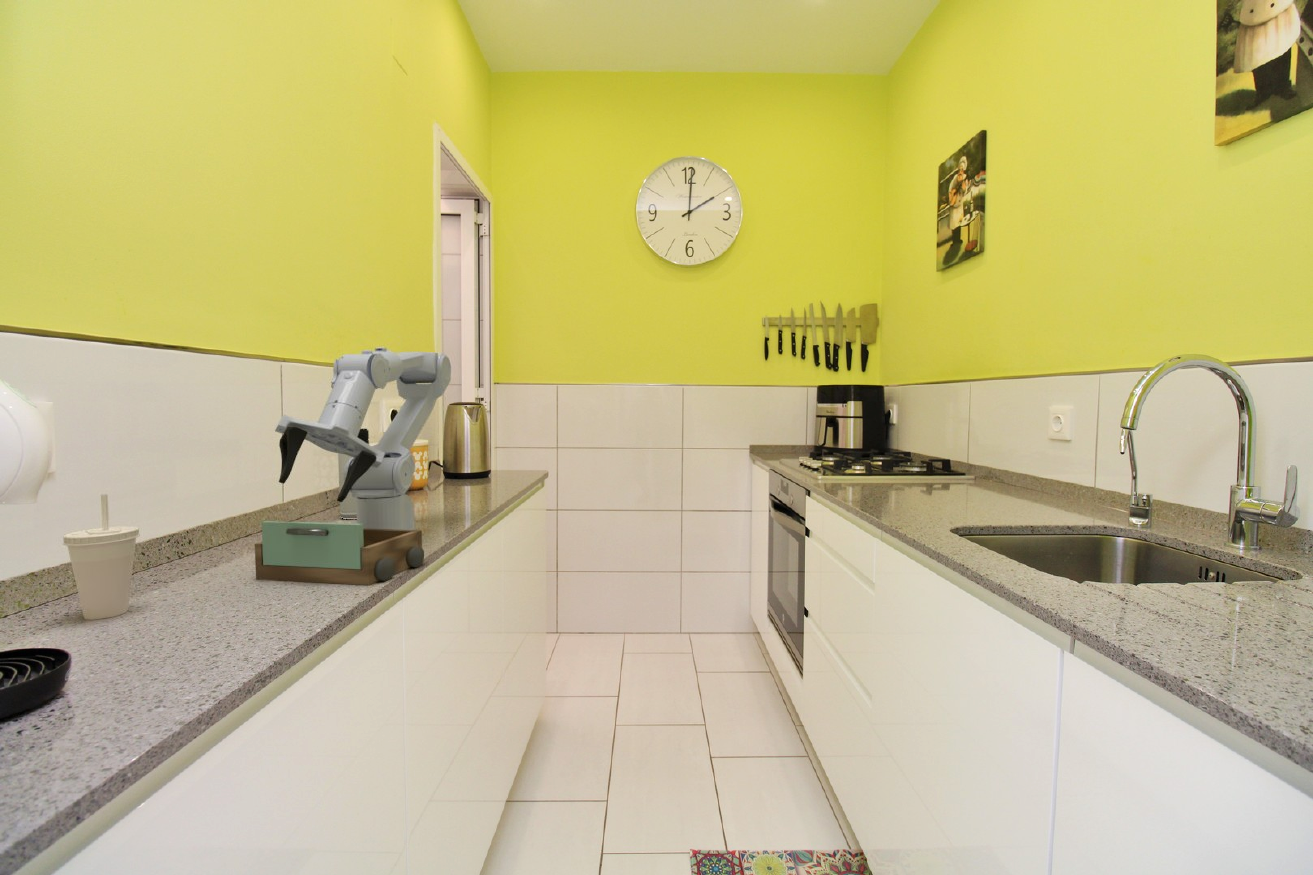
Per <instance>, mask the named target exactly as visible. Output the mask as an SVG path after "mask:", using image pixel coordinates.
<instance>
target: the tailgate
mask: <svg viewBox="0 0 1313 875" xmlns="http://www.w3.org/2000/svg"><path fill="white" fill-rule="evenodd" d="M261 540H262V541H261V542H262V544H263V565H279V566H300V567H321V568H342V569H362V548H363V547H364V540H363V524H357V523H346V522H345V523H342V522H313V521H312V522H311V521H307V522H306V521H276V520H273V521H272V520H265V521H262V522H261Z"/></svg>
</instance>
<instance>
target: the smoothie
mask: <svg viewBox="0 0 1313 875" xmlns="http://www.w3.org/2000/svg"><path fill="white" fill-rule="evenodd" d="M100 502H101V505H100V507H101V523H102V527H99V528H92V529H91V528H90V529H85V530H84V529H83V530H79V531H73V532H69V533H67V534H64V535H63V543H62V545H64V546H67V550H68V555H69V558H70V560H69V561H70V563H71V567H72V571H73V577H74V580H75V584H76V588H77V593H78V598H79V602H80V607H81V611H82V615H83V618H84V620H92V621H93V620H102V619H108V618H113V617H117V616H120V615H123V614H125V613H127V612H128V611H129V604H130V594H131V587H132V586H131V585H132V577H133V569H134V560H135V559H134V558H135V552H136V541H137V538H138V537H140V532H139V530H140V528H139V527H137V526H130V525H129V526H127V525H125V526H123V525H121V526H110V521H109V520H110V519H109V518H110V517H109V516H110V514H109V497H108V493H102V494H100Z"/></svg>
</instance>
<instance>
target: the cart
mask: <svg viewBox="0 0 1313 875" xmlns="http://www.w3.org/2000/svg"><path fill="white" fill-rule="evenodd" d="M422 531H423V530H422V529H421V530H420V529H415V530H394V529H363V540H364V547H363V548H362V569H342V568H321V567H300V566H279V565H263V544H262V541H260V542H256V543H254V562H255V564H254V565H255V579H256V580H263V581H264V580H265V581H283V582H303V583H318V584H319V583H321V584H335V585H336V584H337V585H338V584H340V585H355V586H356V585H357V586H358V585H361V586H371V585H373V584H375V583H378V582H380V581H384V582H385V581H387V582H388V581H389V580H391V579H392V577H393V576H394V575H397V574H399V573H401V572H403V571H406V570H408V569H411V568H420V567H421V566H422V565H423V562H424V560H425V550H424V549H423V537H422V536H423V533H422Z"/></svg>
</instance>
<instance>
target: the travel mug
mask: <svg viewBox="0 0 1313 875" xmlns="http://www.w3.org/2000/svg"><path fill="white" fill-rule="evenodd" d="M357 438H359V439H361V440H362V441H364V442H365V443H367V444H369V445H370V440H369V439H370V436H369V429H368V428H360V431H359V434H358V436H357ZM337 457H338V458H337V459H338V460H337V462H338V465H337V466H338V486H339V488H338V493H340V491H341V489H342V487H343V485H344V481H343V471H344V467H345V465H346V463H347V462H348V460H349V459H350V458H352V457H351V456H348V455H345V454H340V453H337ZM339 511H340V512H339V517H340V516H341V517H343V518H357V505H356V497H352V493H351V492H349V493H348V495H347V497H346V498H345V499H344V500H343V502H339Z"/></svg>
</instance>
